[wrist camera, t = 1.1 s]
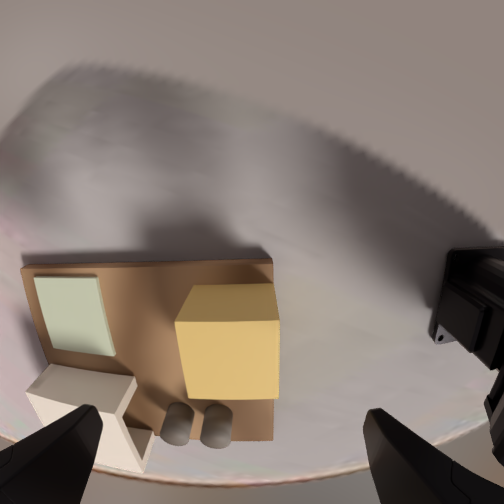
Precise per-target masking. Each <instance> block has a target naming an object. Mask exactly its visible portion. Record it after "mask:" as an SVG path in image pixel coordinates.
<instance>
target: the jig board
mask: <svg viewBox="0 0 504 504" xmlns="http://www.w3.org/2000/svg"><path fill="white" fill-rule="evenodd" d="M20 270H21V275H22V279H23V284H24V288H25V292H26V296H27V300H28V303H29V307H30V311H31V314H32V317H33V321H34V324H35V327H36V330H37V333H38V336H39V339H40V342H41V345H42V348H43V351H44V353H45V356H46V359H47V361H48V364H49V365H50V364H56V365H61V366H66V367H71V368H77V369H83V370H89V371H96V372H102V373H110V374H117V375H126V376H135V379H136V383H137V388H136V390H135V392H134V394H133V396H132V398H131V400H130V402H129V404H128V406H127V408H126V410H125V412H124V414H123V416H122V418H123V421H124V423H125V425H126V427H131V428H137V429H144V430H151V431H153V433H154V435H155V436H160V437H161V438H162V439H163V440H164V441H165V442H167V443H169V444H171V445H175V446H183V445H186V444H187V443H188V442H189V439H195V440H201V442H202V443H203V444H204V445H206V446H207V447H210V448H215V449H221V448H225V447H227V446H228V445H229V444H230V442H231V441H272V440H273V419H274V399H253V400H219V399H191V398H188V393H187V388H186V384H185V379H184V374H183V368H182V363H181V358H180V352H179V346H178V341H177V335H176V329H175V322H174V321H175V319H176V318H177V316H178V314H179V312H180V310H181V308H182V306H183V304H184V302H185V300H186V299H187V297H188V295H189V293H190V291H191V289H192V287H193V285H228V284H264V283H273V261H272V258H265V259H233V260H199V261H161V262H121V263H75V264H29V265H27V266H25V267H23V268H21V269H20ZM36 276H53V277H98V279H99V284H100V289H101V294H102V299H103V304H104V308H105V313H106V317H107V321H108V325H109V329H110V333H111V337H112V341H113V345H114V348H115V352H116V355H115V356H106V355H97V354H90V353H82V352H75V351H68V350H62V349H56V348H53V345H52V342H51V339H50V336H49V333H48V330H47V327H46V323H45V320H44V317H43V313H42V310H41V306H40V302H39V298H38V295H37V290H36V286H35V282H34V277H36Z"/></svg>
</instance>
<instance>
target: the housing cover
mask: <svg viewBox="0 0 504 504" xmlns="http://www.w3.org/2000/svg"><path fill="white" fill-rule="evenodd" d="M136 388H137V383H136V379H135V376H126V375H117V374H110V373H102V372H96V371H89V370H83V369H77V368H71V367H66V366H61V365H56V364H50V365H49V366H48V367H47V368H46V369H45V370H44V372H43V373H42V374H41V375H40V376H39V377H38V378H37V379H36V380H35V381H34V382H33V384H32V385H31V386H30V387H29V388H28V389H27V390H26V391H25V392H26V394H27V396H28V398H29V400H30V402H31V404H32V406H33V408H34V410H35V411H36V413H37V415H38V417H39V419H40V420H41V422H42V424H43V425H44V427H45V426H47V425H49V424H51V423H52V422H54V421H56V420H58V419H59V418H61V417H63V416H64V415H66V414H68V413H69V412H71V411H73V410H75V409H76V408H78V407H80V406H81V405H83V404H90V405H94V406H95V407H96V408H97V410H98V412H99V414H100V417H101V419H102V421H103V430H102V434H101V437H100V441H99V446H98V450H97V454H96V458H95V461H94V462H95V463H99V464H102V465H106V466H110V467H114V468H119V469H123V470H128V471H132V472H137V473H144V470H145V467H146V464H147V461H148V458H149V455H150V452H151V449H152V446H153V443H154V440H155V435H154V433H153V431H151V430H144V429H137V428H131V427H126V425H125V423H124V421H123V418H122V416H123V414H124V412H125V410H126V408H127V406H128V404H129V402H130V400H131V398H132V396H133V394H134V392H135V390H136Z"/></svg>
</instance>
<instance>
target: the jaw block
mask: <svg viewBox="0 0 504 504" xmlns="http://www.w3.org/2000/svg"><path fill="white" fill-rule="evenodd" d="M174 322H175V329H176V335H177V341H178V346H179V352H180V358H181V363H182V368H183V374H184V379H185V384H186V388H187V393H188V398H191V399H219V400H253V399H279V342H280V320H279V313H278V307H277V301H276V295H275V289H274V283H264V284H228V285H193V287H192V289H191V291H190V293H189V295H188V297H187V299H186V300H185V302H184V304H183V306H182V308H181V310H180V312H179V314H178V316H177V318H176V319H175V321H174Z"/></svg>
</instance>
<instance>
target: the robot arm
mask: <svg viewBox="0 0 504 504" xmlns="http://www.w3.org/2000/svg"><path fill="white" fill-rule="evenodd" d="M455 254H456V257H455V259H454V256H455ZM440 335H441V336H440ZM439 336H440V337H439ZM438 337H439V338H438ZM432 339H433V341H434V342H435V343H436V344H444V343H448V342H453V341H458V342H459V343H460V344H461V345H462V346H463V347H464V348H465V349H466V350H467V351H468V352H469V353H473V354H474V355H475V356H476V357H477V358H478V359H479V360H480V361H481V362H482V363H484V364H485V365H486V366H487V367H488V368H489V369H490V370H494V369H496V370H497V371H498V372H499V373H498V376H497V378H496V380H495V382H494V385H493V387H492V389H491V391H490V394H489V395H487V397H486V399H485V401H484V406H485V409H486V412H487V416H488V419H489V422H490V434H491V438H492V442H493V445H494V447H493V449H492V453H493V455H494V456H495V457H496V459H497V460H498V462H499V463H500V464H501V465H502V466H504V246H502V247H476V248H453V249H451V250H450V251H449V253H448V255H447V262H446V269H445V276H444V282H443V288H442V294H441V299H440V304H439V309H438V314H437V319H436V323H435V328H434V332H433V336H432ZM102 430H103V421H102V419H101V417H100V414H99V412H98V410H97V408H96V407H95V406H94V405H90V404H83V405H81V406H80V407H78V408H76V409H75V410H73V411H71V412H69V413H68V414H66V415H64V416H63V417H61V418H59V419H58V420H56V421H54V422H52V423H51V424H49V425H47V426H45V427H44V428H42V429H40V430H38V431H37V432H35V433H33V434H31V435H30V436H28V437H26V438H24V439H22V440H21V441H19V442H17V443H15V444H14V445H11V446H9V447H8V448H6V449H4V450H2V451H0V504H80V502H81V499H82V496H83V493H84V490H85V487H86V484H87V481H88V478H89V476H90V473H91V470H92V467H93V464H94V461H95V458H96V454H97V450H98V446H99V441H100V437H101V434H102ZM363 434H364V439H365V444H366V449H367V455H368V460H369V466H370V470H371V474H372V477H373V480H374V483H375V486H376V490H377V493H378V496H379V499H380V503H381V504H504V488H503V487H501V486H499V485H497V484H494V483H493V482H490V481H488V480H486V479H484V478H482V477H480V476H478V475H476V474H475V473H473V472H471V471H469V470H468V469H466V468H465V467H463V466H461V465H460V464H459V463H457V462H456V461H452V459H451V458H449V457H448V456H447V455H445V454H444V453H442V452H441V451H439V450H438V449H437V448H435V447H434V446H432V445H431V444H430V443H428V442H427V441H425V440H424V439H423V438H421V437H420V436H418V435H417V434H416V433H414V432H413V431H411V430H410V429H409V428H407V427H406V426H405V425H403V424H402V423H400V422H399V421H398V420H396V419H395V418H394V417H392V416H391V415H390V414H388V413H387V412H386V411H384V410H383V409H381V408H376V409H370V410H369V411H368V412H367V415H366V419H365V422H364V426H363Z"/></svg>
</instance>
